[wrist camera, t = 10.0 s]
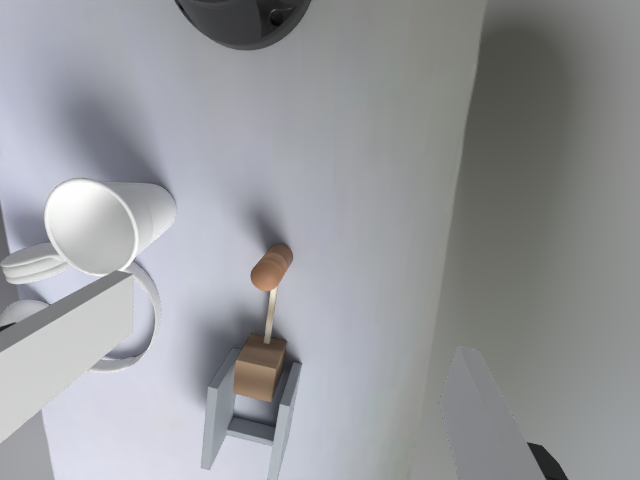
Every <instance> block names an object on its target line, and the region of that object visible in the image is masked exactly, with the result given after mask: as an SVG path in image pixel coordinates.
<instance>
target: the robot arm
mask: <svg viewBox="0 0 640 480" xmlns="http://www.w3.org/2000/svg"><path fill="white" fill-rule="evenodd" d="M175 2H176V4H177V6H178V7H179V9H180V10H181V12H182V13H183V15H184V16H185V17H186V18H187V19H188V21H189V22H190V23H191V24H192V25H193V26H194V27H195V28H196V29H198V30H199V31H200V32H201V33H203V34H204V35H206V36H207V37H209V38H210V39H212V40H214V41H215V42H217V43H219V44H221V45H223V46H226V47H229V48H232V49H237V50H256V49H261V48H265V47H268V46H270V45H272V44H274V43H276V42H278V41H280V40H281V39H283V38H284V37H285V36H286V35H288V34H289V33H290V32H291V31H292V30H293V29H294V28H295V27H296V26H297V24H298V23H299V22H300V20H301V19H302V17H303V16H304V14H305V12H306V11H307V9H308V6H309V4H310V2H311V0H175ZM133 279H134V274H132V273H127V272H123V271H118V270H115V271H113V272H111V273H109V274H108V275H106V276H104V277H102V278H100V279H98V280H96V281H94V282H93V283H91V284H89V285H87V286H85V287H83V288H81V289H79V290H78V291H76V292H74V293H72V294H70V295H68V296H66V297H65V298H63V299H61V300H59V301H57V302H55V303H53V304H51V305H50V306H48V307H46V308H44V309H42V310H40V311H38V312H36V313H35V314H33V315H31V316H29V317H27V318H25V319H23V320H21V321H20V322H18V323H16V322H14V323H11V324H7V325H4V326H1V327H0V443H1V442H2V441H4V440H5V439H6V438H7V437H8V436H10V435H11V434H12V433H13V432H14V431H15V430H17V429H18V428H19V427H20V426H22V425H23V424H24V423H25V422H26V421H27V420H29V419H30V418H31V417H32V416H34V415H35V414H36V413H37V412H38V411H39V410H41V409H42V408H43V407H44V406H45V405H47V404H48V403H49V402H50V401H51V400H53V399H54V398H55V397H56V396H57V395H59V394H60V393H61V392H62V391H63V390H65V389H66V388H67V387H68V386H69V385H70V384H72V383H73V382H74V381H75V380H76V379H78V378H79V377H80V376H81V375H82V374H84V373H85V372H86V371H87V370H88V369H90V368H91V367H92V366H93V365H94V364H96V363H97V362H98V361H99V360H100V359H102V358H103V357H104V356H105V355H106V354H107V353H109V352H110V351H111V350H112V349H113V348H115V347H116V346H117V345H118V344H119V343H121V342H122V341H123V340H124V339H125V338H127V337H128V336H129V335H130V334H131V333H133ZM438 404H439V408H440V411H441V415H442V419H443V423H444V427H445V430H446V434H447V438H448V441H449V445H450V449H451V452H452V457H453V460H454V464H455V467H456V472H457V475H458V479H459V480H568V479H567V477H566V475H565V473H564V472H563V470H562V468H561V467H560V465H559V464H558V462H557V461H556V460H555V459H554V458H553V457H552V456H551V455H550V454H549V453H548V452H547V451H546V449H545V448H544V447H543V446H541V445H537V444H533V443H528V442H526V440H525V438H524V437H523V435H522V433H521V431H520V429H519V427H518V425H517V423H516V421H515V419H514V417H513V415H512V413H511V412H510V410H509V408H508V406H507V404H506V402H505V400H504V398H503V396H502V394H501V392H500V391H499V388H498V387H497V385H496V383H495V381H494V379H493V377H492V375H491V373H490V371H489V369H488V367H487V365H486V363H485V362H484V360H483V358H482V356H481V354H480V352H479V350H477V349H473V348H468V347H464V346H460V345H458V346H457V350H456V352H455V355H454V358H453V361H452V364H451V367H450V370H449V373H448V376H447V379H446V382H445V385H444V387H443V390H442V394H441V396H440V399H439V402H438Z"/></svg>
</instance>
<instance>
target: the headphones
mask: <svg viewBox="0 0 640 480" xmlns="http://www.w3.org/2000/svg"><path fill="white" fill-rule="evenodd" d="M0 265H1V266H2V267H3V268H2V270H3V272H4V274H5V275H6V280H7V281H8V282H9V283H12V284H25V283H31V282H35V281H39V280H43V279H46V278H49V277H52V276H55V275H57V274H60V273H62V272H64V271H66V270H67V269H69V268H71V267H72V266H71V265H70V264H69V263H67V262H66V261H65V260H64V259H63V258H62V257H61V256H60V255H59V254H58V253H57V251H56V250H55V248H54V247H53V245H52V243H51V242H47V243H42V244H37V245H34V246H30V247H27V248H24V249H21V250H19V251H16V252H14V253H12V254H11V255H9V256H8V257H7V258H5V259H4V260H3V261H2V262H1V263H0ZM123 272H127V273H132V274H134V280H135V281H136V282H137V283H138V284H139V285H140V287H141V288H142V289H143V290H144V291H145V292H147V293H148V294H149V296H150V298H151V301H152V303H153V307H154V312H155V328H154V333H153V337H152V340H151V343H150V345H149V347H148V348H147V349H146V350H145V351H144V352H143V353H142V354H141V355H139V356H137V357H130V358H126V359H122V360H101V359H100V360H99V361H98V362H97V363H96V364H94V365H93V366H92V367H91V368H90V369H88V370H87V371H90V372H96V373H112V372H118V371H121V370H124V369H127V368H129V367H131V366H132V365H134V364H135V363H137V362H138V361H139V360H140V359H141V358H142V357H143V356H144V355H145V354H146V352H147V351H148V350H149V348H150V347H151V345H152V344H153V342H154V340H155V338H156V336H157V333H158V330H159V326H160V321H161V301H160V297H159V293H158V291H157V288H156V286H155V284H154V283H153V281H152V280H151V278H150V277H149V276H148V274H147V273H146V272H145V271H144V270H143V269H141V268H140V267H139V266H138V265H136V264H135V263H133V262H131V264H130V265H129V266H128V267H127V268H125V269H124V270H123ZM48 306H50V305H48V304H46V303H44V302H41V301H38V300H30V299H27V300H20V301H16V302H14V303H12V304H11V305H9V306H8V307H7V308H6V309H5V310H4V312H3V313H2V314H1V315H0V327H1V326H4V325H7V324H11V323H14V322H16V323H18V322H20V321H21V320H23V319H25V318H27V317H29V316H31V315H33V314H35V313H36V312H38V311H40V310H42V309H44V308H46V307H48Z"/></svg>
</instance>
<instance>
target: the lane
mask: <svg viewBox="0 0 640 480" xmlns="http://www.w3.org/2000/svg"><path fill="white" fill-rule="evenodd" d="M240 352H241V350H240V349H236V348H232V349H231V351H230V353H229V354H228V356H227V357H226V359H225V361H224V362H223V364H222V365H221V367H220V368H219V370H218V372H217V373H216V375H215V376H214V378H213V379H212V381H211V383H210V384H209V386H208V391H207V402H206V414H205V425H204V437H203V449H202V460H201V468H203V469H207V470H210V468H211V466H212V464H213V462H214V460H215V458H216V456H217V454H218V451H219V449H220V447H221V445H222V443H223V441H224V439H225V437H226V435H228V436H232V437H237V438H241V439H245V440H249V441H253V442H257V443H261V444H265V445H269V446H273V448H272V454H271V460H270V466H269V472H268V478H267V480H277V479H278V475H279V471H280V468H281V464H282V460H283V456H284V452H285V448H286V445H287V441H288V437H289V432H290V426H291V421H292V416H293V410H294V405H295V399H296V394H297V388H298V383H299V377H300V372H301V366H302V364H301V363H297V362H293V365H292V368H291V371H290V374H289V377H288V380H287V383H286V386H285V390H284V393H283V396H282V399H281V402H280V406H279V412H278V418H277V424H276V427H272V426H268V425H264V424H260V423H256V422H252V421H248V420H244V419H240V418H236V417H233V412H234V404H235V395H236V394H234V393H233V383H234V374H235V365H236V359H237V357H238V356H239V354H240Z"/></svg>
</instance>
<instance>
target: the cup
mask: <svg viewBox="0 0 640 480" xmlns="http://www.w3.org/2000/svg"><path fill="white" fill-rule="evenodd" d="M175 218H176V205H175V202H174V200H173V198H172V196H171V195H170V194H169V193H168V191H166V190H165V189H164V188H162V187H161V186H159V185H156V184H150V183H127V182H110V181H96V180H93V179H87V178H74V179H70V180H67V181H64V182H62V183H61V184H59V185H58V186H56V187H55V189H54V190H53V191H52V192H51V193H50V195H49V197H48V199H47V201H46V205H45V208H44V223H45V228H46V232H47V235H48V237H49V239H50V241H51V243H52V245H53V247H54V248H55V250H56V251H57V253H58V254H59V255H60V256H61V257H62V258H63V259H64V260H65V261H66V262H67V263H69V264H70V265H71V266H72V267H74V268H76V269H78V270H80V271H81V272H84V273H87V274H90V275H95V276H106V275H108V274H109V273H111V272H113V271H115V270H118V271H123V270H124V269H125V268H127V267H128V266H129V265H130V264H131V262H132V261H133V259H134V258H135V257H136V256H137V255H138V254H139V253H141V252H142V251H143V250H144V249H145V248H146V247H147V246H148V245H150V244H151V243H152V242H153V241H154V240H155V239H157V238H158V237H159V236H160V235H161V234H162V233H164V232H165V231H166V230H167V229H168V228H169V227H170V226H171V225H172V224H173V223H174V220H175Z"/></svg>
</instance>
